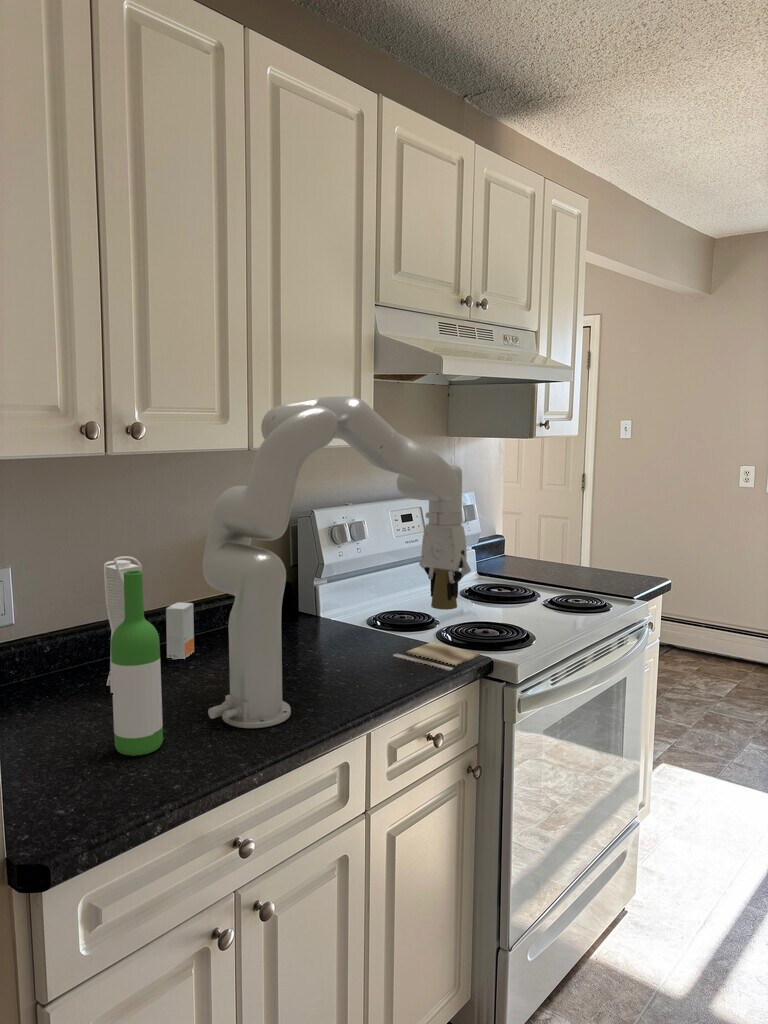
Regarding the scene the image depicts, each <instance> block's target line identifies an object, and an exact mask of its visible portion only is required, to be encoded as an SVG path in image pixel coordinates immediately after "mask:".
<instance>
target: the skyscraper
mask: <svg viewBox="0 0 768 1024" xmlns="http://www.w3.org/2000/svg"><path fill="white" fill-rule="evenodd" d="M131 560H132V561H134V562H135V563H136V564H133V563H131ZM109 564H110V565H109ZM134 570H136V571H141V572H142V573H143V571H142V570H143V567H142V564H141V562H140V561H139V560H138V559H136V558H135V557H133V556H130V555H128V556H125V555H124V556H117V557H115V558H114V559H113V560H109V561H106V562H105V563H104V564H103V576H104V580H103V581H104V592H105V593H104V594H105V604H106V612H107V617H108V618H107V619H108V622H109V626H110V630H111V633H110V641H111V640H112V636H113V633H114V631H115V630H116V628H117V627H118V626H119V625H120V624H121V623H122V622H123V621H124V619H125V607H124V572H126V571H134ZM109 659H110V660H109V661H110V662H109V670H110V671H109V674H110V675H109V676H110V679H109V680H110V684H109V685H110V694H111V693H113V692H112V667H111V647H110V656H109Z"/></svg>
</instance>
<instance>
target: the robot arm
mask: <svg viewBox="0 0 768 1024" xmlns="http://www.w3.org/2000/svg"><path fill="white" fill-rule="evenodd" d="M260 428H261V430H260V431H261V434H262V437H263V442H261V444H260V446H259V448H258V450H257V452H256V454H255V457H254V459H253V464H252V468H251V470H250V475H249V479H248V483H247V485H235V486H232V487H229V488H227V489H225V491H223V492H222V493H221V495H220V496H219V497H218V498H217V500H216V502H215V504H214V507H213V510H212V512H211V513H212V514H211V517H210V522H209V526H208V533H207V535H206V536H207V537H206V542H205V547H204V552H203V557H202V573H203V577H204V579H205V581H206V582H207V584H208V585H209V586H210V587H211V588H213V589H215V590H217V591H219V592H222V593H224V594H229V595H231V596H234V602H233V604H232V608H231V610H230V612H229V616H228V617H229V618H228V654H229V655H228V657H229V658H228V660H229V694H227V695H224V697H225V700H224V701H223V702H222V703H221V704H220V705H215V706H213V707H210V708H208V711H207V713H208V716H209V718H210V719H212V720H213V719H216V718H218V717H221V718H222V721H223V722H224V723H225V724H227V725H229V726H232V727H236V728H243V729H261V728H268V727H272V726H275V725H279V724H281V723H283V722H286V720H288V719H289V718H290V716H291V714H292V713H291V712H292V710H291V706H290V704H289V703H287V702H286V701H284V700H283V665H282V664H283V661H282V659H283V656H282V654H283V653H282V652H283V651H282V645H283V644H282V643H283V642H282V640H283V639H282V610H283V609H282V607H283V599H284V593H285V587H286V582H287V570H286V567H285V563H284V562H283V561H282V559H281V558H280V557H279V556H278V555H277V554H276V553H274V552H273V551H271V550H269V549H266V548H263V547H260V546H254V545H252V544H251V543H252V539H254V540H257V541H258V540H259V541H275V540H277V539H280V538H281V537H283V535H284V534H285V533H286V531H287V529H288V526H289V521H290V518H291V517H290V516H291V513H292V507H293V502H294V497H295V492H296V487H297V483H298V478H299V475H300V472H301V469H302V467H303V465H304V464H305V462H306V461H307V460H308V459H309V458H310V456H312V455H313V454H314V453H316V452H317V451H319V450H321V449H323V448H325V447H327V446H328V445H329V444H330V443H331V442H332V441H333V439H338V440H339V439H340V440H342V441H344V442H345V443H346V444H348V446H350V447H351V448H352V449H354V450H355V451H356V452H357V453H358V454H359V455H361V456H362V457H363V458H364V459H365V460H367V462H369V463H370V464H371V465H372V466H375V467H376V468H379V469H382V470H383V471H386V472H390V473H393V474H398V475H397V479H396V487H397V490H398V492H399V493H400V494H401V495H402V496H404V497H405V498H408V499H412V500H419V501H428V512H427V511H426V512H425V518H426V519H428V523H426V524H425V526H424V529H423V530H424V531H423V536H422V543H421V557H420V559H421V560H420V561H419V563H418V564H419V566H420V567H421V568H422V569H423V570H424V572H425V573H426V575H427V578H428V579H429V580H430V597H431V598H432V597H433V590H434V583H435V576H436V573H435V572H434V569H433V568H435V569H441V570H447V571H449V572H448V574H449V581H450V583H448V584H447V591H448V600H451V599H452V596H454V597H455V598H456V599H458V595H459V582H460V581H461V580H462V579H463V578H464V577H465V576H466V575H468V574H469V573H471V572H472V570H471V567H470V565H469V563H468V561H467V558H468V557H467V552H468V551H467V539H466V533H465V527H464V525H462V519H463V518H462V516H463V515H462V514H463V513H462V509H463V502H462V501H463V470H462V468H461V467H460V466H458V465H454V464H453V465H452V464H449V463H447V461H446V460H445V459H444V458H442V457H441V456H440V455H439V454H438V453H437V452H435V451H433V450H431V449H430V448H428V447H426V446H424V445H421V444H419V443H418V442H416V441H415V440H412V439H410V438H409V437H406V436H405V435H402V434H401V433H399V432H398V431H396V430H395V428H393V427H392V425H390V424H389V423H388V422H387V421H386V420H385V419H384V418H382V416H380V414H378V413H377V412H376V411H375V410H374V408H372V407H371V406H370V405H369V404H368V403H366V402H365V400H362V399H360V398H358V397H355V396H349V395H347V396H324V397H323V396H322V397H318V398H313V399H308V400H302V401H297V402H293V403H287V404H286V403H285V404H283V405H282V404H281V405H277V406H274V407H272V408H270V409H269V410H268V411H267V412H266V413H265V414H264V416H263V418H262V421H261V425H260ZM460 569H461V570H460Z"/></svg>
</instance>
